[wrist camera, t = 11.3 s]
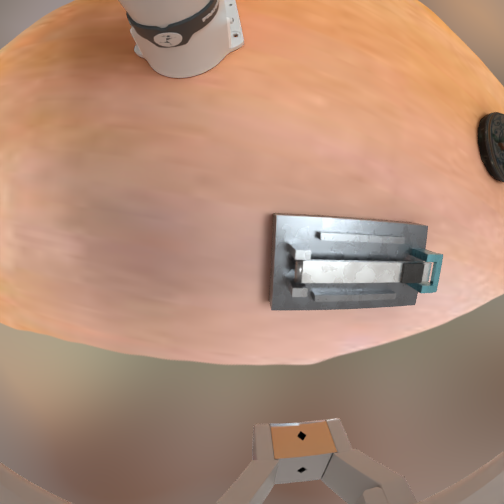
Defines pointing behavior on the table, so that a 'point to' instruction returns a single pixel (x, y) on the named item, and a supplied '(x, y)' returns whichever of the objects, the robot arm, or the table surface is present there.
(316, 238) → the grey mechanical fixture
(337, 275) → the silver long bar
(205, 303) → the table surface
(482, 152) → the beer stein
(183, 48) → the robot arm
